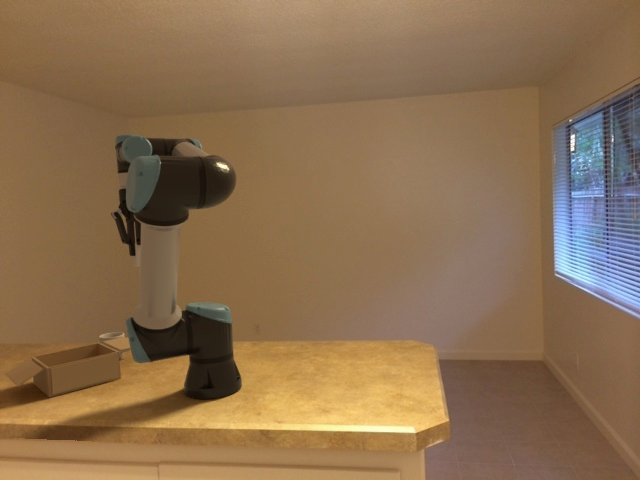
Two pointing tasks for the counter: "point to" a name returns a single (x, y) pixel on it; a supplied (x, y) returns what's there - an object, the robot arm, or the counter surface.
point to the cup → (109, 337)
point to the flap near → (23, 372)
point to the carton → (76, 368)
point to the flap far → (119, 343)
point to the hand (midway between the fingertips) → (137, 266)
